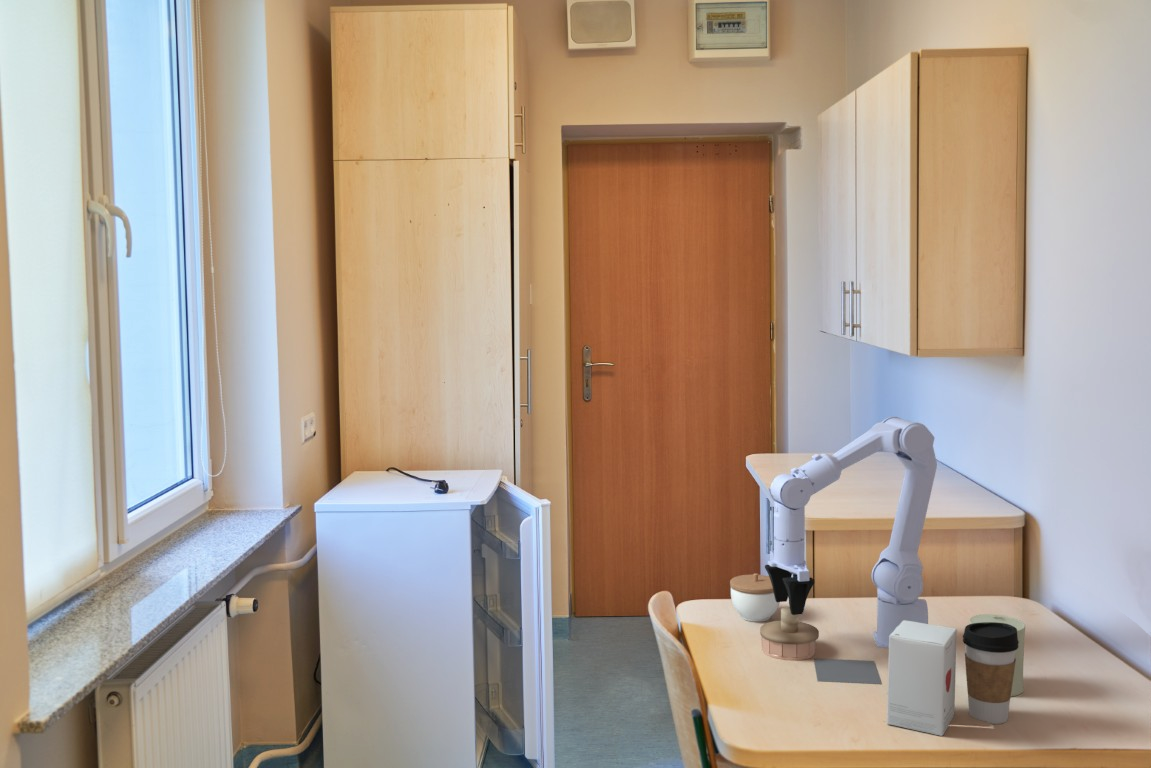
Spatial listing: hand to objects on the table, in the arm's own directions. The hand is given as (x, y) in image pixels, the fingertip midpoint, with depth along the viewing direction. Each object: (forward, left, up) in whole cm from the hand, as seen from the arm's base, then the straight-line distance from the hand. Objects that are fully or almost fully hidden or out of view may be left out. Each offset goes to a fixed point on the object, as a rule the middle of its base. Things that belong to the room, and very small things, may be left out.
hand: (788, 607), depth 197 cm
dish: (0, 0, -9) cm, 9 cm away
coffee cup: (-31, +25, -9) cm, 41 cm away
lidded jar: (+6, -20, -9) cm, 23 cm away
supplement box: (-20, +28, -9) cm, 36 cm away
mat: (-10, +9, -9) cm, 16 cm away
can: (-35, +12, -9) cm, 38 cm away
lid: (0, 0, -5) cm, 5 cm away
